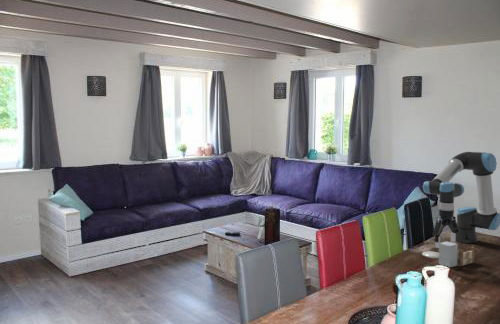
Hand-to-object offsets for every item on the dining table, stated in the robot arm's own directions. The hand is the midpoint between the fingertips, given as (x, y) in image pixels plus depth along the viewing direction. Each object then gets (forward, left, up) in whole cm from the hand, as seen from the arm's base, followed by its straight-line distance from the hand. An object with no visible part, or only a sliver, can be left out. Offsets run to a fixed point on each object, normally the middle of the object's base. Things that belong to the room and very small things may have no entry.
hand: (445, 245), depth 253 cm
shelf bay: (-12, 0, -11) cm, 16 cm away
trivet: (-9, -15, -11) cm, 21 cm away
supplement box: (-1, +1, -12) cm, 12 cm away
